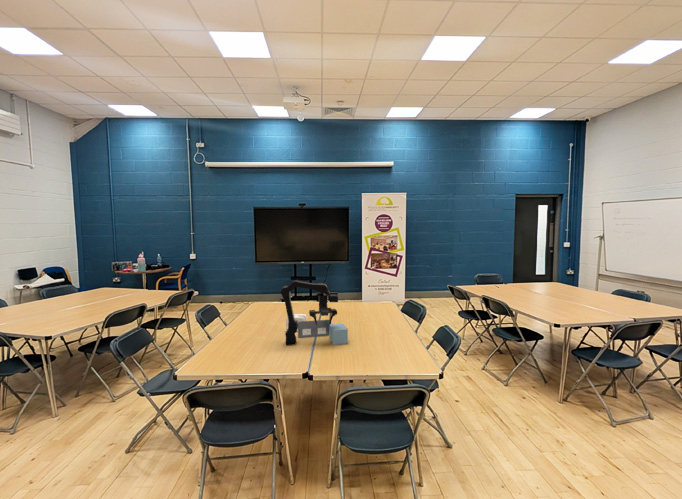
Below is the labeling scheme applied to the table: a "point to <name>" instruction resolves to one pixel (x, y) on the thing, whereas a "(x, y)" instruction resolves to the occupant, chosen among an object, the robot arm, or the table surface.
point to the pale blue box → (338, 334)
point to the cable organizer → (297, 317)
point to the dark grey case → (313, 328)
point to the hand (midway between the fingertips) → (323, 324)
